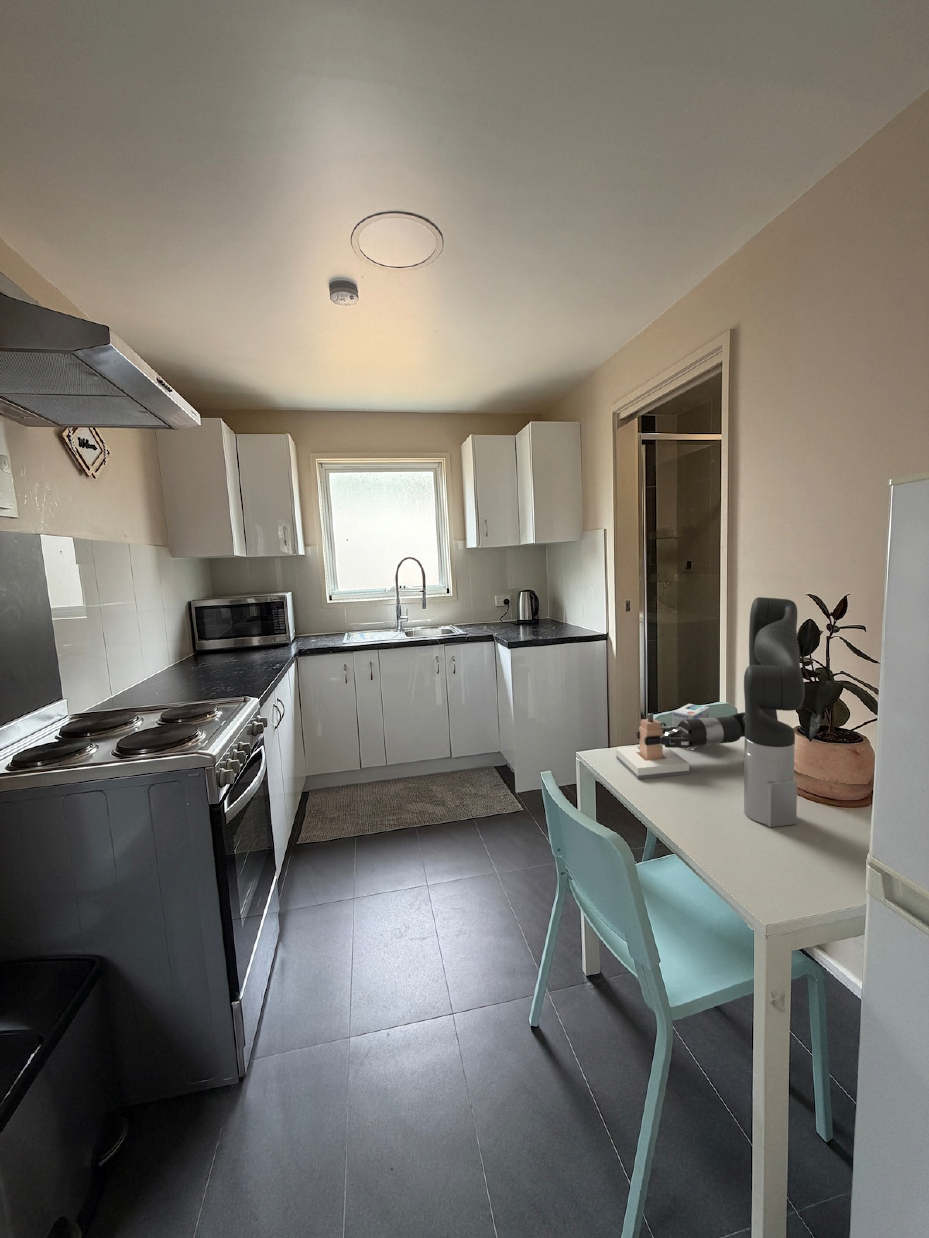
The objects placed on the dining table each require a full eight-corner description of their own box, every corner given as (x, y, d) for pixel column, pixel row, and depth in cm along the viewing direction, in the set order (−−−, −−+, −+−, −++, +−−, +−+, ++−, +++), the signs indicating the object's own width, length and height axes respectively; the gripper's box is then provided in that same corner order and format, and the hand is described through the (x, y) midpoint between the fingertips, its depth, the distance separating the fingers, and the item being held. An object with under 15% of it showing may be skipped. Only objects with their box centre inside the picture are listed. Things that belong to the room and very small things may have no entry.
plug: (662, 762, 137) (662, 715, 135) (647, 763, 137) (646, 717, 135) (655, 756, 141) (654, 710, 140) (639, 757, 141) (639, 712, 139)
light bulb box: (688, 735, 160) (688, 702, 158) (710, 741, 155) (710, 706, 153) (671, 745, 153) (671, 710, 152) (693, 751, 148) (693, 715, 146)
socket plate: (689, 774, 133) (689, 761, 132) (637, 779, 131) (637, 767, 131) (663, 753, 147) (662, 743, 146) (616, 758, 145) (616, 747, 145)
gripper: (686, 711, 146) (629, 716, 144) (716, 727, 132) (653, 733, 130) (686, 736, 147) (630, 741, 145) (716, 755, 133) (653, 761, 131)
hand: (641, 737), depth 138 cm, fingers closed on plug, 4 cm apart
